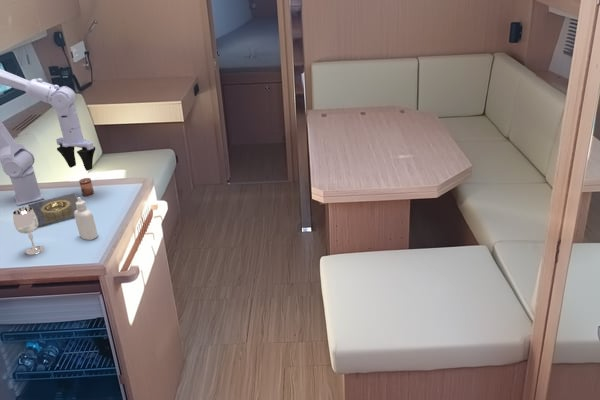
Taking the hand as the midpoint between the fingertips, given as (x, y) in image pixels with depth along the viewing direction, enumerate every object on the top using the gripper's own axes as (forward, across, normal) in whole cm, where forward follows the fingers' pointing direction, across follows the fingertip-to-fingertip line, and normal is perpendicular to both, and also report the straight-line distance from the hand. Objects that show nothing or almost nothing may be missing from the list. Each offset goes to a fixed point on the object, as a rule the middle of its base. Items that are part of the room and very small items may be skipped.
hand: (80, 168), depth 178 cm
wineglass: (+10, +15, -32) cm, 37 cm away
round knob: (+10, 0, 0) cm, 10 cm away
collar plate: (+9, 0, -13) cm, 16 cm away
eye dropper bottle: (+10, +23, -20) cm, 33 cm away
